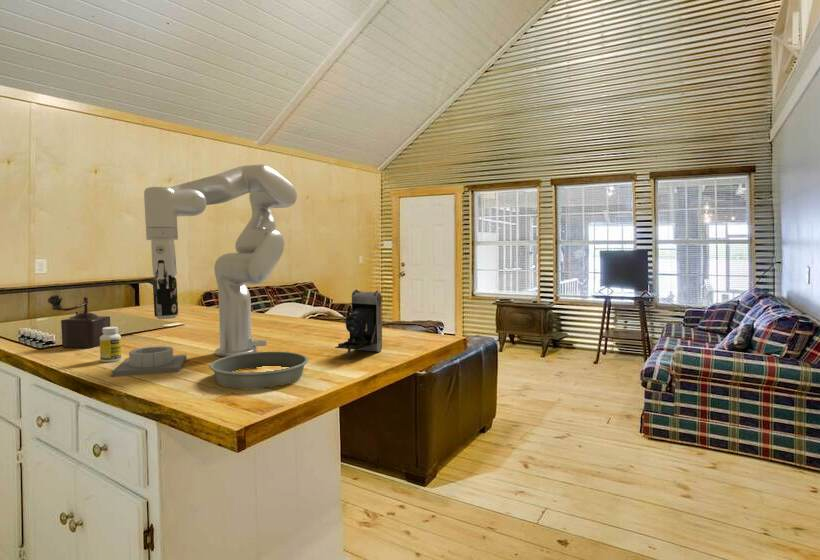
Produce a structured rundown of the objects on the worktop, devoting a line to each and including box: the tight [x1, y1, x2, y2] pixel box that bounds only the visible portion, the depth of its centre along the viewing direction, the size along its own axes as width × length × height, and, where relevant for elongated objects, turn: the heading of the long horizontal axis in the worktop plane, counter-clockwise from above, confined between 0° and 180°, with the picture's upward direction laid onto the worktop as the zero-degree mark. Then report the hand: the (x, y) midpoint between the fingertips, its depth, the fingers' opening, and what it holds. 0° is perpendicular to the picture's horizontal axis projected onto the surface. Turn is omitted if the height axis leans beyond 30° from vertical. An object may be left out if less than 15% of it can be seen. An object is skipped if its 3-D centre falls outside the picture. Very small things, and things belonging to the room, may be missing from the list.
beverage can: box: [152, 275, 179, 320], centre depth 133 cm, size 6×6×12 cm
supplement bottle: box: [99, 326, 123, 363], centre depth 147 cm, size 5×5×10 cm
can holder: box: [111, 345, 188, 377], centre depth 140 cm, size 16×16×5 cm
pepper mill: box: [47, 294, 111, 349], centre depth 166 cm, size 16×11×18 cm
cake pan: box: [208, 351, 309, 389], centre depth 129 cm, size 25×25×4 cm
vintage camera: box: [334, 289, 383, 360], centre depth 155 cm, size 10×16×20 cm, turn 158°
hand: (165, 302), depth 133 cm, fingers closed on beverage can, 4 cm apart
